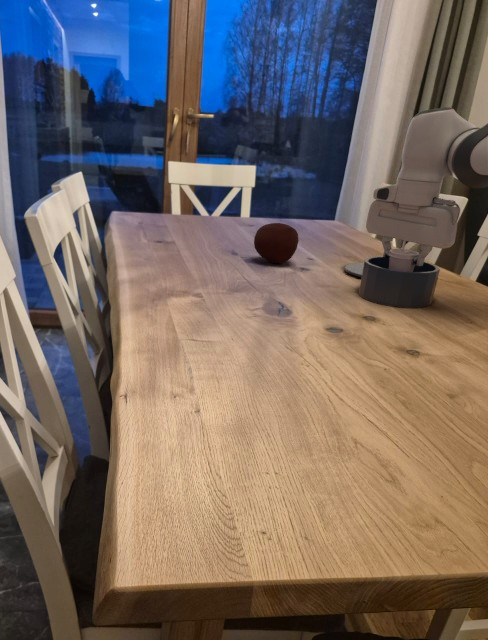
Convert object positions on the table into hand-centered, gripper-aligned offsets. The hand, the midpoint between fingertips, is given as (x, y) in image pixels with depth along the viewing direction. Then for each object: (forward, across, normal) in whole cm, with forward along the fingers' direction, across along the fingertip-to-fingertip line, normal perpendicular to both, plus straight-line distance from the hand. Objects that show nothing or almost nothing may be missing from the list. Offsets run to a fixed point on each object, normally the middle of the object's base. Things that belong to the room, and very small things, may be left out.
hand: (402, 261), depth 125 cm
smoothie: (+8, 0, 0) cm, 8 cm away
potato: (+8, +38, +2) cm, 39 cm away
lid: (+8, +16, -14) cm, 22 cm away
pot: (+8, 0, 0) cm, 8 cm away
